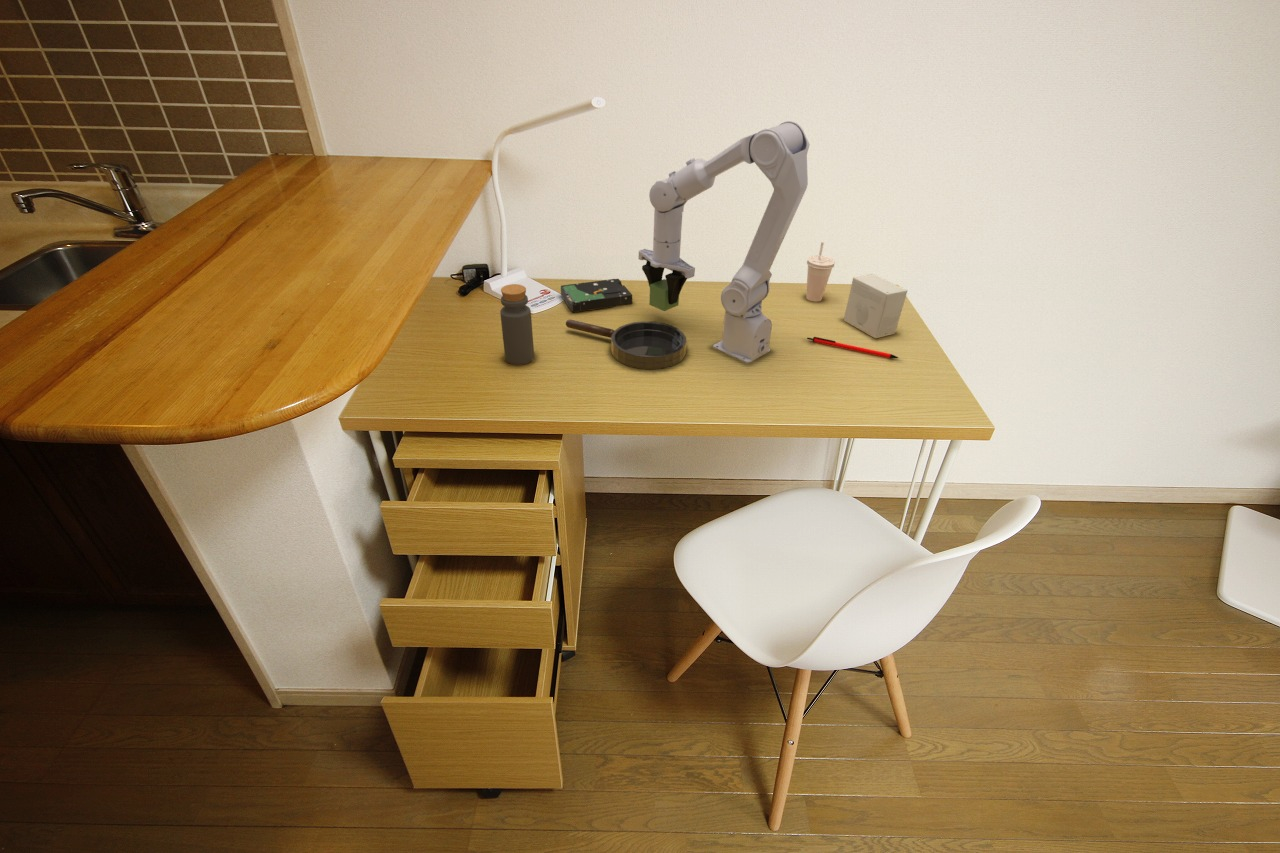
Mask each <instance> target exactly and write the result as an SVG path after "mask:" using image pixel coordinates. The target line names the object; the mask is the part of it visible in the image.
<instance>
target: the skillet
mask: <svg viewBox="0 0 1280 853" xmlns="http://www.w3.org/2000/svg"><path fill="white" fill-rule="evenodd" d="M610 352H611V355H612V356H613V358H614V359H615V360H616V361H617V362H618V363H620V364H623V365H624V366H627V367H630V368H633V369H634V368H635V369H639V370H661V369H666V368H669V367H673V366H676V365H677V364H679V363H680V362H681V361H682V360H684V359H685V356H686V353H687V336H686V335H685V333H684V332H683V331H682V330H681V329H679V328H678V327H675V326H673V325H671V324H668V323H665V322H659V321H652V320H651V321H649V320H646V321H645V320H643V321H633V322H629V323H626V324H623V325H621V326H618V328H616V329H615V330H614V332H613V334H612V336H611V338H610Z"/></svg>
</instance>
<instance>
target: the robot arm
mask: <svg viewBox="0 0 1280 853" xmlns="http://www.w3.org/2000/svg"><path fill="white" fill-rule="evenodd" d="M809 149H810V142H809V140H808V138H807V135H806V133H805V131H804V129H803V127H802V126H801V125H800V124H799V123H797V122H795V121H792V120H791V121H790V120H788V121H787V120H786V121H784V122H781V123H779V124H778V125H775V126H772V127H769V128H763V129H761V130H759V131H758V132H755V133H752V134H750V135H747V136H744V137H742V138H740V139H739V140H737V141H736V142H734V143H732V144H731V145H730V146H728V147H727V148H725V149H724V150H722V151H721V152H718V154H716V155H715V156H713V157H711V158H710V159H708V160H706V159H703V158H696V159H695V158H691V159H688V160H687V161H686V162H685V164H686V165H685V166H683V167H682V168H681V169H679V170H677V171H676V170H673V171H671V172H669V173H668V178H665V179H661V180H656V182H654V184H653V185H651V187H650V189H649V192H648V193H649V202H650V204H651V206H652V207H653V208H654V209H653V210H654V212H653V214H654V215H653V240H652V241H653V242H652V250H651V249H647V248H643V249H640V250H638V260H640V261H646V263H645V264H643V265H642V266H641V270H642V272H643V273H644V276H645V277H646V279H647V283H648V286H649V287H650V284H653V283H655V282H658V281H660V280H663V275H664V272H665V269H667V270H668V271H672V272H670V273H667V274H665V276H664V277H665V278H664V279H666V281H667V285H668V302H669V304H671V305H672V304H674V303H676V302H677V300H678V297H679V298H680V295H681V291H682V289H683V287H684V285H685V283H686V281H687V280H688V279H691V278H694V277H695V273H696V267H694V266H692V265H690V264H689V263H687V261H685V260H684V259H682V258H681V244H682V227H683V226H682V225H683V214H684V213H683V212H684V208H685V205H686V203H687V202H688V201H689V200H691V199H693V198H694V197H697V196H698V195H700V194H702V193H704V192H705V191H707V190H709V189H711V188H712V187H713V186H714V184H715V180H716V177H718V176H719V175H721V174H723V173H724V172H726V171H728V170H730V169H732V168H734V167H736V166H738V165H740V164H743V162H745V163H746V164H750V165H751V164H755V165H756V166H757V167H758V169H759V170H760V171H761V172H762V174H764V176H765V177H766V178H767V179H768V181H769V182H770V183H771V186H772V188H773V192H772V194H771V197H770V198H769V201H768V204H767V206H766V208H765V210H764V213H763V216H762V218H761V220H760V222H759V225H758V227H757V230H756V232H755V235H754V237H753V239H752V242H751V244H750V246H749V249H748V251H747V254H746V256H745V258H744V261H743V263H742V265H741V267H740V268H739V269H738V270H737V272H736V273H735V274H734V275H733V277H732V279H731V282H730V283H729V284H727V286H726V287H724V288H723V289H722V292H721V294H720V302H721V305H722V307H723V309H724V321H723V330H722V336H721V337H722V338H721V340H720V341H718V342H717V343H714V344H713V345H712V348H713V349H715V350H717V351H720V352H721V353H724V354H726V355H728V356H730V357H733V358H735V359H737V360H739V361H741V362H744V363H746V364H750V363H752V362H753V361H755V360H757V359H759V358H761V357H763V356H764V355H766V354H768V353H769V352H771V348H770V342H771V337H772V336H771V335H772V329H773V323H772V319H770V318H769V317H768V316H766V315H765V314H764V313H763V312H762V308H763V307H762V306H763V301H764V300H765V299H766V298H767V297H768V295H769V293H770V281H771V278H772V276H773V274H772V272H771V271H770V270H771V268H772V266H773V263H774V261H775V260H776V257H777V254H778V252H779V250H780V248H781V246H782V244H783V241H784V240H785V237H786V235H787V233H788V230H789V229H790V226H791V224H792V221H793V220H794V218H795V215H796V213H797V210H798V208H799V207H800V204H801V201H802V200H803V197H804V196H805V193H806V191H807V189H808V183H809V182H808V179H809V178H808V153H809Z"/></svg>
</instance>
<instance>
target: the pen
mask: <svg viewBox="0 0 1280 853" xmlns="http://www.w3.org/2000/svg"><path fill="white" fill-rule="evenodd" d="M806 340H809V341H812V342H813V343H817V344H822V345H827V346H832V347H837V348H841V349H845V350H850V351H855V352H858V353H864V354H869V355H872V356H878V357H883V358H886V359H900V357H898V356H897V355H894V354H892V353H888V352H883V351H878V350H874V349H869V348H866V347H865V348H864V347H861V346H855V345H852V344H851V345H850V344H848V343H847V344H846V343H842V342H836V340H832V339H828V338H822V337H818V336H813V338H812V337H806Z"/></svg>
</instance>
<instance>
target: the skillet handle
mask: <svg viewBox="0 0 1280 853" xmlns="http://www.w3.org/2000/svg"><path fill="white" fill-rule="evenodd" d="M565 326H566V327H567V328H568V329H572V330H577V331H581V332H584V333H587V334H588V333H589V334H594V335H597V336H601V337H606V338H610V339H611V336H612V334H613V332H614V331H615V330H614V329H612V328H608V327H603V326H600V325H597V324H596V325H595V324H591V323H587V322H582V321H580V320H579V321H578V320H576V319H575V320H574V319H567V320H566V321H565Z"/></svg>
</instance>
